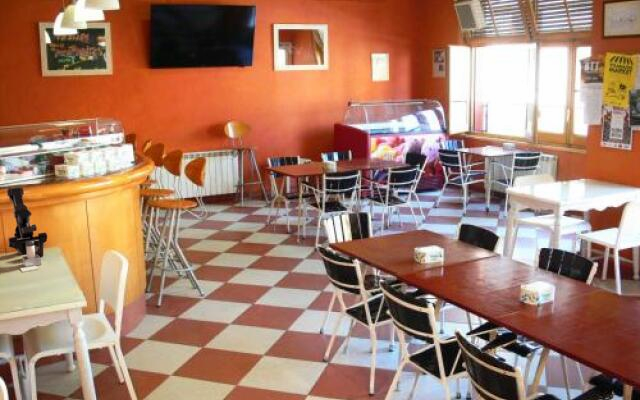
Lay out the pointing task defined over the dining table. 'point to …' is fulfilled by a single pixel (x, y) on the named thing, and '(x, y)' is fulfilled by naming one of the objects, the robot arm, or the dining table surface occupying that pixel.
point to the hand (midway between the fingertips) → (31, 253)
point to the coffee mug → (36, 248)
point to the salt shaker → (30, 249)
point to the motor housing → (32, 261)
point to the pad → (29, 268)
